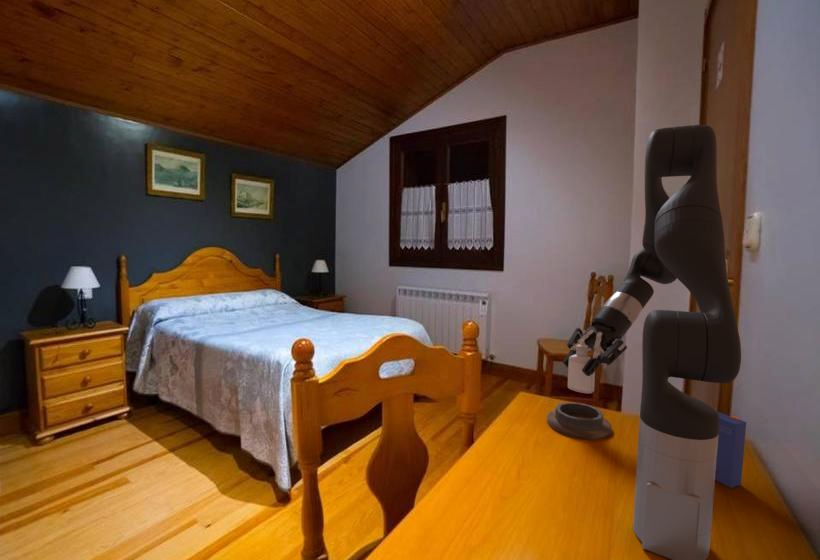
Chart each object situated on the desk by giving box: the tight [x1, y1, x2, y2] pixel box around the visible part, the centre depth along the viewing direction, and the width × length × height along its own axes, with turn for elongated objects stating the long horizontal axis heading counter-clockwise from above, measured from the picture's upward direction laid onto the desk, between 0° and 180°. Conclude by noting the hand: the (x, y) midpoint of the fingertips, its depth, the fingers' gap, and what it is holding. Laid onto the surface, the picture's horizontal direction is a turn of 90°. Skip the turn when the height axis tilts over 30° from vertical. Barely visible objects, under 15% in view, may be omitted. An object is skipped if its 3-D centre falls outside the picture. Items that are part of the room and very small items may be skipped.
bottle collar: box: [546, 401, 613, 441], centre depth 93 cm, size 14×14×4 cm
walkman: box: [715, 410, 747, 489], centre depth 73 cm, size 8×3×12 cm, turn 20°
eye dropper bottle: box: [567, 340, 596, 395], centre depth 92 cm, size 4×6×12 cm
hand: (575, 369), depth 92 cm, fingers closed on eye dropper bottle, 5 cm apart
